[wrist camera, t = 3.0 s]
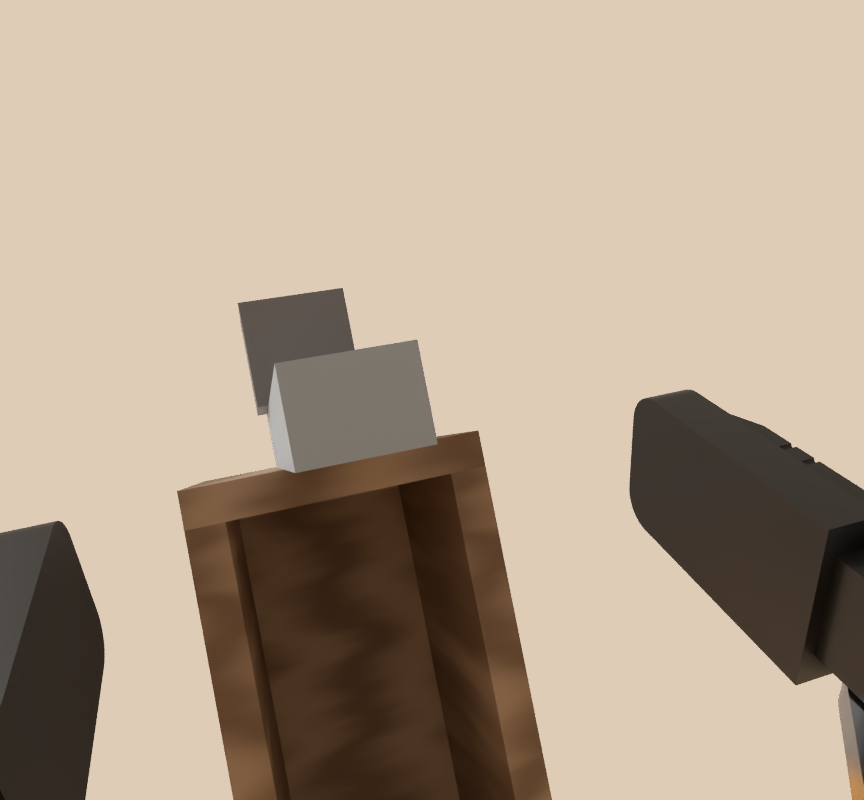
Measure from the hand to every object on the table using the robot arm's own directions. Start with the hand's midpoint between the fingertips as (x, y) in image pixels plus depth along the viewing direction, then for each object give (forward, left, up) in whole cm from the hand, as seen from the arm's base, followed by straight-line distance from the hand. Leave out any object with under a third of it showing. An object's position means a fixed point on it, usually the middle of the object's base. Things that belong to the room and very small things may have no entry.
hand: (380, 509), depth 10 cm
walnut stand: (+1, +26, -30) cm, 39 cm away
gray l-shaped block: (+1, +21, 0) cm, 21 cm away
